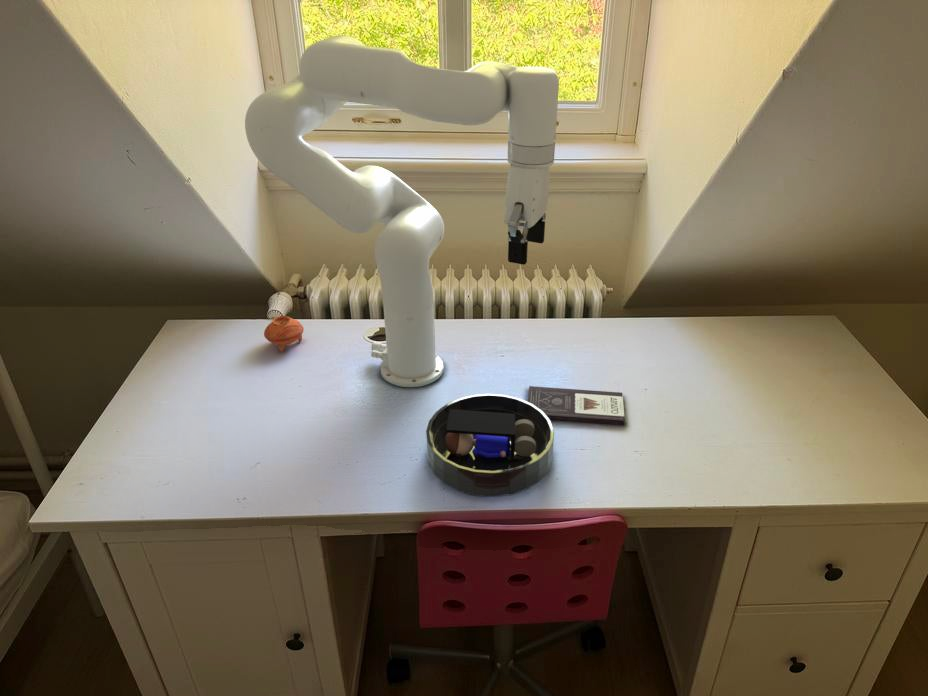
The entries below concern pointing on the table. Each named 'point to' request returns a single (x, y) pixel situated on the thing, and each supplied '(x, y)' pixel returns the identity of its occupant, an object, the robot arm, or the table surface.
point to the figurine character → (489, 434)
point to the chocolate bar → (578, 404)
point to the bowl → (481, 471)
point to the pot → (283, 331)
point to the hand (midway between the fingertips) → (526, 251)
